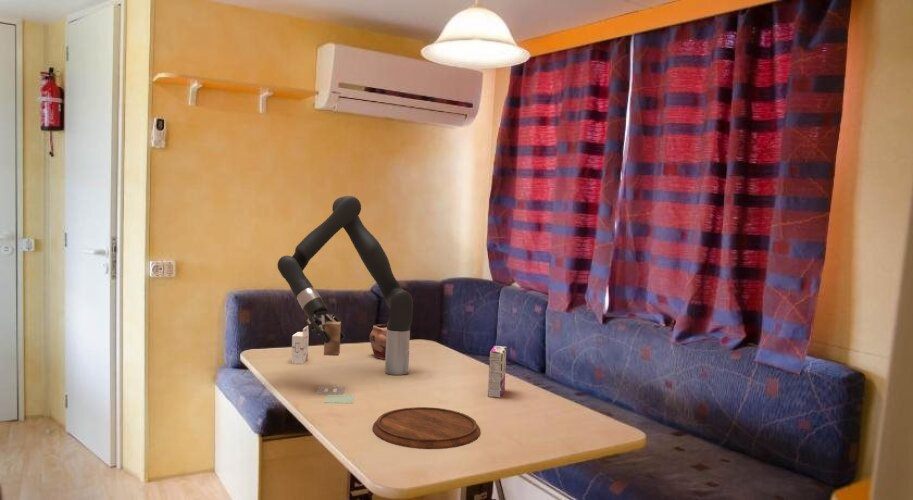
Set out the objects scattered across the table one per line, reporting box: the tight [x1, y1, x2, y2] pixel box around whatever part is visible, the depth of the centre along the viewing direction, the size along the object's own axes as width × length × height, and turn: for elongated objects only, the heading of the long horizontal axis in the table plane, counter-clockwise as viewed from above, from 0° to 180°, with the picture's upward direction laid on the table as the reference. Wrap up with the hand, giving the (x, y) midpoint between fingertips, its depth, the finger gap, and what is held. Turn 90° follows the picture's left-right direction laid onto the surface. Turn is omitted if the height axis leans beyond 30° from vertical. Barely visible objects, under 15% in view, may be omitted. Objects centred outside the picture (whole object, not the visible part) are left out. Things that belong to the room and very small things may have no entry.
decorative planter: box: [369, 324, 387, 360], centre depth 286 cm, size 20×12×14 cm, turn 36°
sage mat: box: [324, 394, 355, 404], centre depth 218 cm, size 9×9×1 cm
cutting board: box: [372, 406, 481, 450], centre depth 193 cm, size 32×32×2 cm
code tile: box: [316, 385, 345, 395], centre depth 228 cm, size 9×9×1 cm
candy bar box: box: [487, 345, 507, 399], centre depth 235 cm, size 11×5×16 cm, turn 168°
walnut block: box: [323, 321, 342, 357], centre depth 227 cm, size 5×5×11 cm
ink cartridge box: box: [291, 325, 310, 365], centre depth 269 cm, size 9×5×15 cm, turn 179°
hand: (335, 340), depth 226 cm, fingers closed on walnut block, 7 cm apart
